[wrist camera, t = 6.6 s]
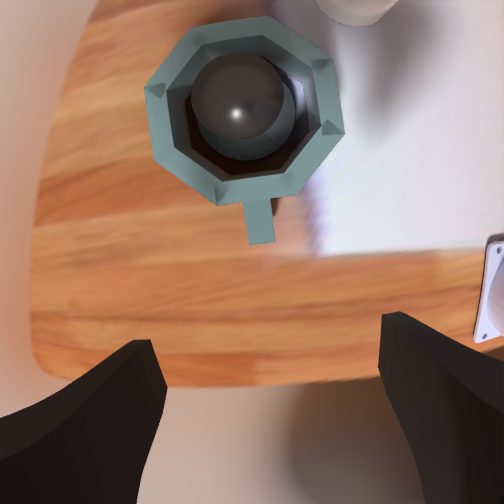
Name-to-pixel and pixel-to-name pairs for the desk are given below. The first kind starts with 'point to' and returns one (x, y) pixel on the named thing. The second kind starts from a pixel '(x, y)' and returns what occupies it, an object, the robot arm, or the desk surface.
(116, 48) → the desk surface
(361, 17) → the cream rounded block
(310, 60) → the grey-green octagonal bowl
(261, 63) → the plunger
